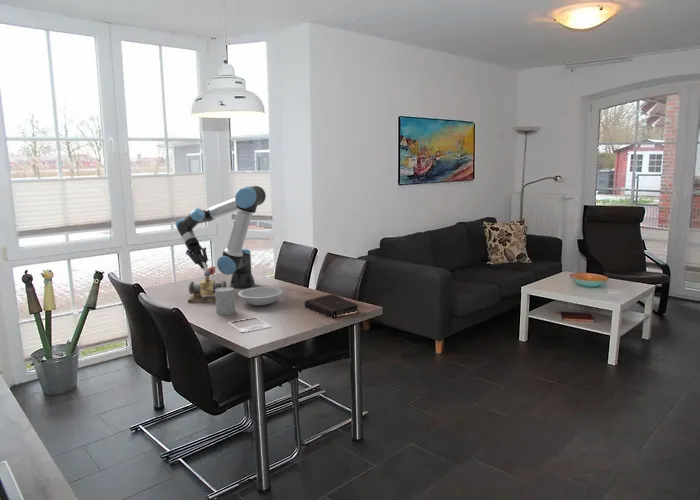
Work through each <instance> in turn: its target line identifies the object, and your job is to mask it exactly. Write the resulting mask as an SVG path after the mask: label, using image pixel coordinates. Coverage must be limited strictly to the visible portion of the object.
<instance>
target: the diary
mask: <svg viewBox="0 0 700 500" xmlns="http://www.w3.org/2000/svg"><path fill="white" fill-rule="evenodd" d="M358 306H359V307H361V305H360V304H358V303H356V302H353V301H350V300H347V299H346V298H345V299H344V298H343V297H340V296H338V295H335V294H332V293H331V294H327V295H323V296H318V297H315V298H310V299H306V300H305V301H304V307H305V308H306V309H307V308H309V309H308V310H310V309H311V310H310V311H312V310H314V311H313V312H315V311H316V312H315V313H317V312H319V313H322V314H325V315H327V316H329V317H333V316H334V315H335V316H337V315H341V314H345V313H350V312H355V311H359V309H358ZM319 313H318V314H319ZM322 314H321V315H322ZM327 316H326V317H327ZM329 317H328V318H329ZM333 318H334V317H333Z"/></svg>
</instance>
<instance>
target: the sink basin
mask: <svg viewBox="0 0 700 500" xmlns="http://www.w3.org/2000/svg"><path fill="white" fill-rule="evenodd" d="M283 293H284V291H283V290H282V289H281V288H279V287H272V286H257V287H256V286H255V287H247V288H244V289H242V290H240V291H239V292H238V293H237V296H239V297H241V298H242V300H243V301H244V302H245V303H247V304H249V305H252V306H265V305H270V304H272V303H274V302H275V301H277V300H278V299H279V297H280V296H282V294H283Z"/></svg>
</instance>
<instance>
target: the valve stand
mask: <svg viewBox="0 0 700 500" xmlns="http://www.w3.org/2000/svg"><path fill="white" fill-rule="evenodd" d="M204 277H205V280H201V281H200V282H197V283H196V282H194V281H190V282H189V284H188V293H189V295H191V296H190V297H189V298H188V299H187V303H188V304H189V303H216V296H215V289H216V288H220V287H227V283H226V281H225V280H223V281H222V282H216V280H215V279H214V280H212V279H211V280H210V276H204Z"/></svg>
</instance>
